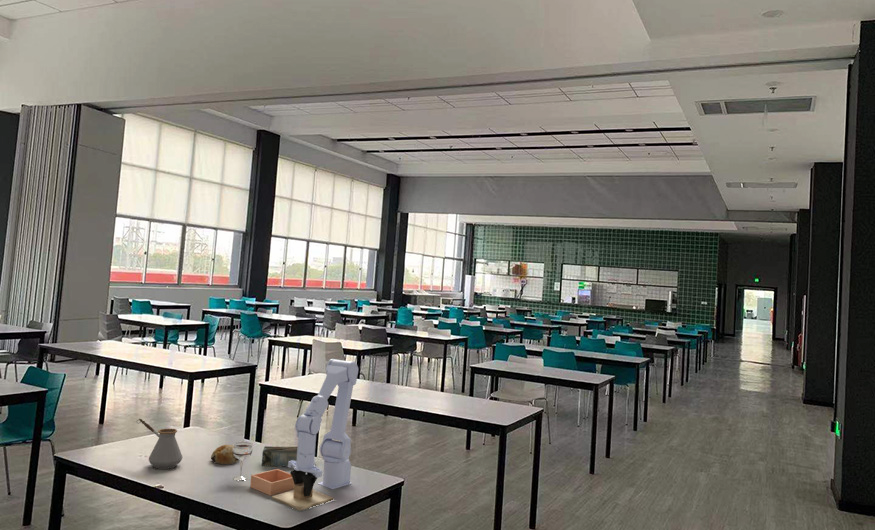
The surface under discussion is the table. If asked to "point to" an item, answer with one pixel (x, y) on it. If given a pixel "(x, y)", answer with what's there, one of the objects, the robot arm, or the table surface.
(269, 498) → the mat
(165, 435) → the coffee pot
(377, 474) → the table surface
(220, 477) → the table surface
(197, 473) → the table surface
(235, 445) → the wineglass
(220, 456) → the bread roll
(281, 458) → the beverage carton
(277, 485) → the orange open box
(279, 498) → the lid
